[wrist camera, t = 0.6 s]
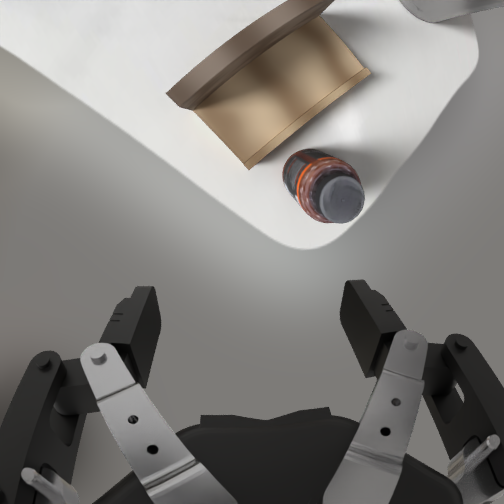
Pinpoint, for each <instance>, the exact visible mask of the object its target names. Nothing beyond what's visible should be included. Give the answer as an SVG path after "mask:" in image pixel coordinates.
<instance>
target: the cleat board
mask: <svg viewBox="0 0 504 504" xmlns="http://www.w3.org/2000/svg"><path fill="white" fill-rule="evenodd" d="M333 1H334V0H287V1H286V2H284V3H282V4H281V5H279V6H278V7H276V8H274V9H273V10H271V11H270V12H268V13H267V14H265V15H264V16H262V17H260V18H259V19H258V20H256V21H255V22H253V23H252V24H250V25H249V26H247V27H246V28H244V29H243V30H242V31H240V32H239V33H238V34H236V35H235V36H233V37H232V38H231V39H229V40H228V41H227V42H225V43H224V44H223V45H222V46H220V47H219V48H218V49H216V50H215V51H214V52H213V53H211V54H210V55H209V56H208V57H206V58H205V59H204V60H203V61H202V62H200V63H199V64H198V65H197V66H196V67H195V68H193V69H192V70H191V71H190V72H189V73H188V74H186V75H185V76H184V77H183V78H182V79H181V80H180V81H179V82H178V83H176V84H175V85H174V86H173V87H172V88H171V89H170V90H169V91H168V92H167V93H166V94H167V95H168V96H169V97H170V98H171V99H172V100H173V101H174V102H175V103H176V104H177V105H178V106H179V107H181V108H185V109H189V110H192V111H194V112H195V113H196V114H197V115H198V116H199V117H200V118H201V119H202V121H203V122H204V123H205V124H206V125H207V126H208V127H209V128H210V129H211V130H212V131H213V132H214V133H215V134H216V135H217V136H218V137H219V138H220V139H221V140H222V141H223V142H224V143H225V145H226V146H227V147H228V148H229V149H230V150H231V151H232V152H233V153H234V154H235V155H236V156H237V157H238V158H239V159H240V161H241V162H242V163H243V164H244V166H245V167H246V168H247V169H248V170H250V169H251V168H252V167H253V166H254V165H256V164H257V163H258V162H259V161H260V160H262V159H263V158H264V157H265V156H266V155H267V154H269V153H270V152H271V151H272V150H273V149H275V148H276V147H277V146H278V145H279V144H281V143H282V142H283V141H284V140H285V139H287V138H288V137H289V136H290V135H292V134H293V133H294V132H295V131H296V130H298V129H299V128H300V127H301V126H303V125H304V124H305V123H306V122H308V121H309V120H310V119H311V118H313V117H314V116H315V115H317V114H318V113H319V112H320V111H322V110H323V109H324V108H326V107H327V106H328V105H329V104H331V103H332V102H333V101H335V100H336V99H337V98H339V97H340V96H341V95H343V94H344V93H345V92H347V91H348V90H349V89H351V88H352V87H353V86H355V85H356V84H357V83H359V82H360V81H361V80H363V79H364V78H366V77H367V76H368V75H370V74H371V72H370V71H369V70H368V68H363V66H362V65H361V64H360V62H359V61H358V60H357V59H356V57H355V56H354V55H353V53H352V52H351V51H350V50H349V49H348V47H347V46H346V45H345V44H344V43H343V41H342V40H341V39H340V38H339V37H338V36H337V34H336V33H335V32H334V31H333V30H332V29H331V28H330V26H329V25H328V24H327V23H326V22H325V21H324V20H323V19H322V18H321V17H320V16H319V15H320V14H321V13H322V12H323V11H324V10H325V9H326V8H327V7H328V6H329V5H330V4H331V3H332V2H333Z"/></svg>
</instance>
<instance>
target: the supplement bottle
mask: <svg viewBox="0 0 504 504" xmlns="http://www.w3.org/2000/svg"><path fill="white" fill-rule="evenodd" d="M282 175H283V182H284V185H285V187H286V189H287V190H288V192H289V193H290V194H291V195H292V197H293V198H294V199H295V200H296V201H297V202H298V204H299V205H300V206H301V207H302V209H303V210H304V211H305V212H306V213H307V214H308V215H309V216H310V217H312V218H313V219H315V220H317V221H319V222H323V223H347V222H349V221H351V220H353V219H354V218H355V217H357V216H358V215H359V213H360V212H361V210H362V208H363V205H364V200H365V197H364V191H363V188H362V186H361V182H360V179H359V176H358V174H357V173H356V171H355V170H354V169H353V168H352V167H351V166H350V165H349V164H347V163H346V162H344V161H342V160H340V159H338V158H335V157H333V156H330V155H328V154H325V153H322V152H319V151H316V150H311V149H305V150H301V151H298V152H296V153H294V154H293V155H291V156H290V157H289V159H288V160H287V161H286V163H285V165H284V168H283V174H282Z"/></svg>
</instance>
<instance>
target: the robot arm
mask: <svg viewBox="0 0 504 504" xmlns="http://www.w3.org/2000/svg"><path fill="white" fill-rule="evenodd" d="M400 2H401V3H402V4H403V5H404V6H405V7H406V9H407V10H409V11H410V12H411V13H412V14H413V15H415V16H416V17H418V18H420V19H422V20H424V21H427V22H432V23H435V22H440V21H443V20H447V19H450V18H454V17H458V16H462V15H466V14H470V13H474V12H479V11H483V10H488V9H493V8H498V7H504V0H400ZM340 321H341V324H342V327H343V329H344V331H345V333H346V335H347V337H348V340H349V342H350V344H351V346H352V348H353V351H354V353H355V355H356V357H357V359H358V362H359V364H360V366H361V368H362V371H363V373H364V375H365V377H366V378H368V377H374V376H376V378H377V382H376V384H375V387H374V389H373V391H372V394H371V396H370V399H369V401H368V403H367V405H366V408H365V410H364V412H363V414H362V417H361V419H360V421H359V423H358V422H356V421H354V420H351V419H348V418H345V417H340V416H333V415H331V412H330V409H329V407H324V408H317V409H309V410H300V411H297V412H293V413H290V414H287V415H284V416H281V417H277V418H274V419H270V420H260V419H253V418H247V417H241V416H235V415H201V419H200V424H197V425H193V426H190V427H187V428H185V429H182V430H180V431H179V432H177V433H174V432H173V431H172V429H171V428H170V427H169V425H168V424H167V423H166V421H165V420H164V419H163V417H162V416H161V414H160V413H159V412H158V410H157V409H156V407H155V406H154V405H153V403H152V402H151V400H150V399H149V397H148V396H147V394H146V393H145V392H144V390H143V388H146V386H147V382H148V378H149V373H150V369H151V365H152V361H153V357H154V353H155V349H156V346H157V342H158V337H159V335H160V331H161V316H160V311H159V306H158V301H157V296H156V291H155V288H154V287H153V286H137V287H136V288H135V289H134V292H133V294H132V296H131V298H124V299H123V300H122V301H121V302H120V303H119V304H118V305H117V306H116V308H115V310H114V312H113V315H112V316H111V318H110V321H109V322H108V324H107V326H106V328H105V330H104V332H103V335H102V337H101V339H100V341H99V343H97V344H93V345H91V346H89V347H88V348H86V349H85V350H84V351H83V353H82V355H81V358H77V359H71V360H64V361H62V360H61V358H60V356H59V355H58V354H57V353H56V352H54V351H44V352H41V353H39V354H37V355H36V356H35V357H34V358H33V359H32V360H31V362H30V364H29V366H28V368H27V370H26V371H25V374H24V376H23V378H22V380H21V382H20V384H19V386H18V388H17V390H16V392H15V395H14V397H13V399H12V401H11V403H10V406H9V408H8V410H7V413H6V415H5V417H4V420H3V423H2V425H1V428H0V504H79V496H78V493H77V492H76V490H75V489H74V488H73V487H72V486H71V481H72V476H73V470H74V465H75V461H76V456H77V452H78V447H79V443H80V439H81V434H82V430H83V427H84V423H85V419H86V415H87V413H92V412H99V411H101V413H102V415H103V417H104V419H105V421H106V423H107V425H108V427H109V429H110V431H111V433H112V435H113V437H114V438H115V440H116V442H117V444H118V445H119V447H120V449H121V451H122V453H123V454H124V456H125V458H126V459H127V461H128V463H129V464H130V466H131V468H132V469H133V470H132V471H131V472H130V473H129V474H128V475H127V476H126V477H124V478H123V479H122V480H121V481H120V482H118V483H117V484H116V485H115V486H113V487H112V488H111V489H110V490H109V491H108V492H106V493H105V494H104V495H103V496H101V497H100V498H99V499H98V500H96V501H95V502H94V503H92V504H490V503H492V502H493V501H495V500H497V499H498V498H500V497H501V496H502V495H504V388H503V386H502V384H501V383H500V381H499V380H498V378H497V377H496V375H495V374H494V372H493V371H492V369H491V368H490V366H489V365H488V363H487V362H486V360H485V359H484V357H483V356H482V354H481V353H480V352H479V350H478V349H477V347H476V346H475V345H474V343H473V342H472V341H471V340H470V339H469V338H468V337H466V336H464V335H461V334H451V335H449V336H448V337H447V338H446V340H445V343H444V344H435V343H428V342H427V340H426V338H425V337H424V336H423V335H422V334H420V333H418V332H416V331H413V330H407V329H406V327H405V326H404V324H403V323H402V321H401V320H400V318H399V317H398V315H397V314H396V313H395V311H393V308H392V307H391V305H389V303H388V301H387V300H386V299H385V297H384V296H383V295H381V294H380V293H379V292H377V291H376V290H371V289H370V287H369V286H368V285H367V283H366V282H365V280H348V281H346V283H345V286H344V292H343V297H342V303H341V308H340ZM457 383H458V385H459V386H460V388H461V390H462V392H463V394H464V403H463V401H462V400H461V398H460V396H459V394H458V392H457V390H456V388H455V386H456V384H457ZM422 395H423V397H424V399H425V402H426V404H427V406H428V408H429V410H430V413H431V415H432V417H433V420H434V422H435V424H436V427H437V429H438V431H439V434H440V436H441V438H442V441H443V443H444V446H445V448H446V451H447V454H448V456H449V459H450V462H449V464H448V469H447V470H448V475H447V477H446V476H444V475H443V474H440V473H439V472H437V471H435V470H434V469H432V468H430V467H428V466H427V465H425V464H424V463H422V462H420V461H418V460H417V459H415V458H414V457H412V456H410V455H409V454H407V453H405V452H406V449H407V446H408V443H409V440H410V437H411V433H412V430H413V427H414V423H415V420H416V416H417V413H418V409H419V405H420V401H421V397H422Z"/></svg>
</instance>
